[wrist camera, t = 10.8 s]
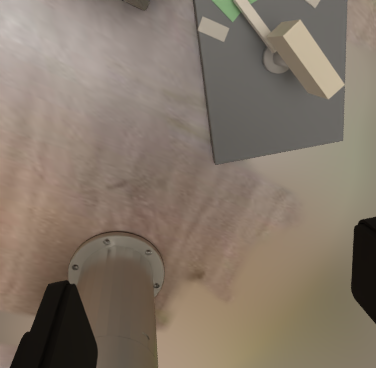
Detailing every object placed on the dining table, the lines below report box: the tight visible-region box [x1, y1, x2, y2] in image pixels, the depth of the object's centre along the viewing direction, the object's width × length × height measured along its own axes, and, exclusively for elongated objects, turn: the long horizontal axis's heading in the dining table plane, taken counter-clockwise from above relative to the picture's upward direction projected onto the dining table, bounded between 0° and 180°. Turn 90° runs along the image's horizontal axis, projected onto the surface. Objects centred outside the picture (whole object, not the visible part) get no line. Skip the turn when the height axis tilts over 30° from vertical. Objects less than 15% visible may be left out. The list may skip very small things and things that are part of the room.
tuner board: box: [193, 0, 347, 165], centre depth 38 cm, size 22×16×1 cm
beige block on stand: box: [233, 0, 345, 99], centre depth 32 cm, size 11×3×9 cm, turn 43°
